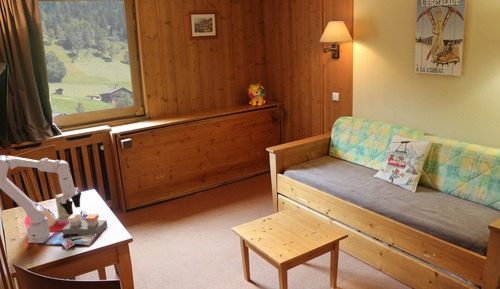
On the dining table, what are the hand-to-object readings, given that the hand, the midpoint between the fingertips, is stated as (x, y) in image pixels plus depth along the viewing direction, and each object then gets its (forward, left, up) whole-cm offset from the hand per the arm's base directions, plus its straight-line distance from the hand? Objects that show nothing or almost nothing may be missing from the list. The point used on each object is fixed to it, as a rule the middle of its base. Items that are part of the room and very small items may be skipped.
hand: (74, 210), depth 209 cm
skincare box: (+15, +15, -10) cm, 24 cm away
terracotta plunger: (-1, -9, -7) cm, 12 cm away
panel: (-1, -5, -10) cm, 11 cm away
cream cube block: (-1, 0, -7) cm, 7 cm away
